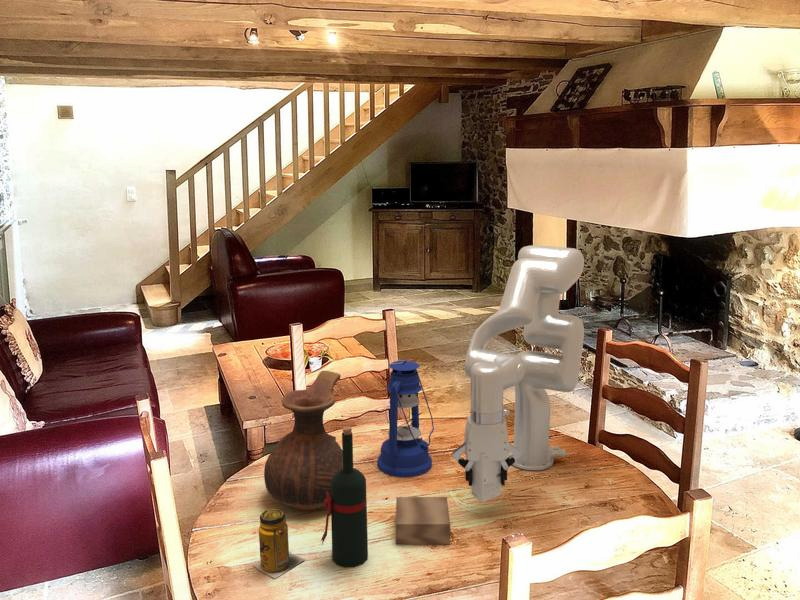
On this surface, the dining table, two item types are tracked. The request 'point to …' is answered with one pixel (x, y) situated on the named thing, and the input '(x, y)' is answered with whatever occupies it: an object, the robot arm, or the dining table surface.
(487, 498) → the skincare box
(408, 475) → the lantern
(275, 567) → the condiment
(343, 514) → the wine bottle
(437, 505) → the walnut block
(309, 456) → the jug
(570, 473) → the dining table surface
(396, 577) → the dining table surface
